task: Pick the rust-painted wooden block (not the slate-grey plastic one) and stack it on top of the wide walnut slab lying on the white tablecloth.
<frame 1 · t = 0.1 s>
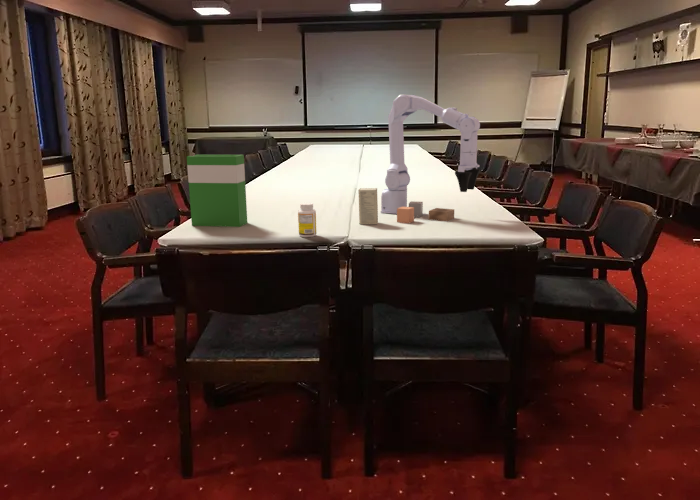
hand: (467, 190, 206), 10 cm above the table, fingers open, 7 cm apart
grey block: (415, 215, 215), on the table
skincare box: (368, 224, 201), on the table
supplement bottle: (307, 236, 181), on the table
cereal box: (219, 224, 203), on the table
walnut slab: (441, 219, 208), on the table
rust block: (405, 221, 203), on the table
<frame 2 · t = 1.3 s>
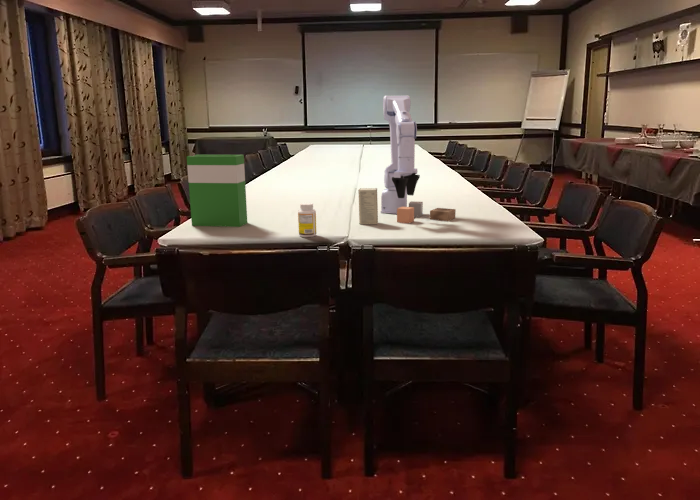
hand: (405, 196, 201), 9 cm above the table, fingers open, 7 cm apart
nothing on the table moved.
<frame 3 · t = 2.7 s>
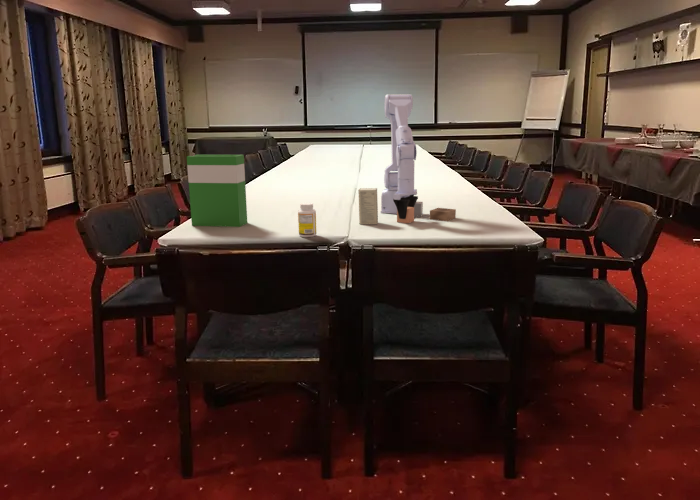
hand: (405, 217, 203), 1 cm above the table, fingers closed on rust block, 4 cm apart
rust block: (405, 221, 203), on the table, touching gripper
everything else where it was.
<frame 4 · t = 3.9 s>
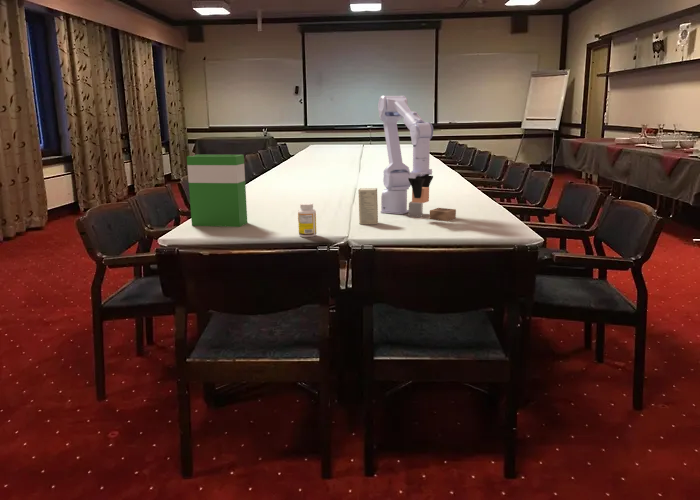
hand: (420, 196, 203), 8 cm above the table, fingers closed on rust block, 4 cm apart
rust block: (420, 201, 203), point 7 cm above the table, touching gripper
everything else where it was.
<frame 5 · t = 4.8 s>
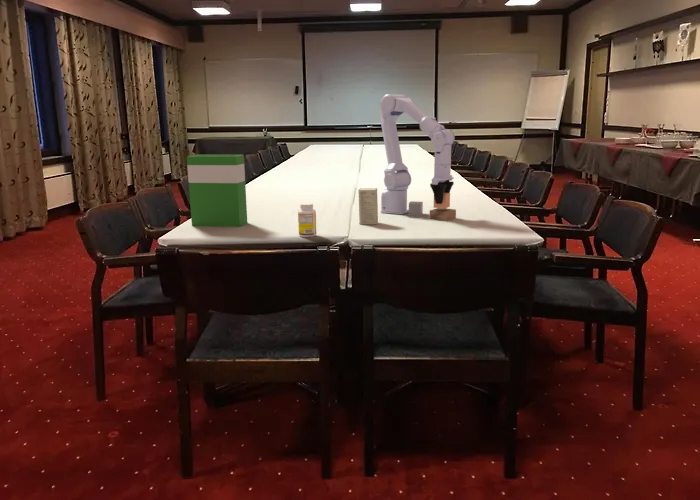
hand: (441, 202, 206), 6 cm above the table, fingers closed on rust block, 5 cm apart
rust block: (441, 207, 207), point 4 cm above the table, touching gripper
everything else where it was.
when the fingers open (6 cm above the table, at t = 5.3 s): rust block stays where it is, point 3 cm above the table.
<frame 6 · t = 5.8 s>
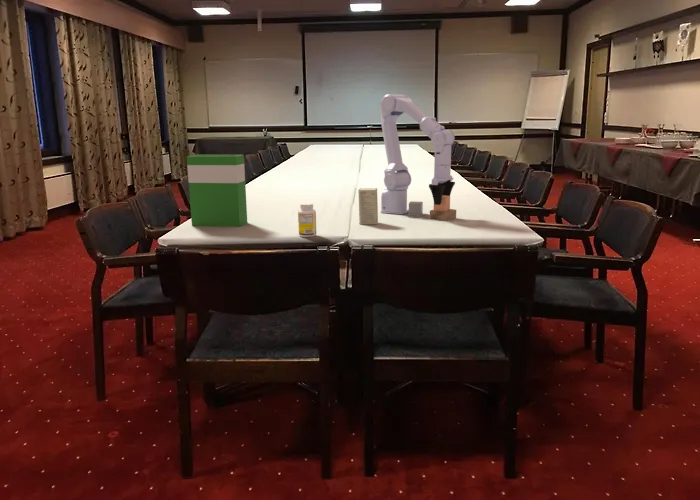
hand: (441, 203, 206), 6 cm above the table, fingers open, 7 cm apart
rust block: (441, 210, 207), point 3 cm above the table
everything else where it was.
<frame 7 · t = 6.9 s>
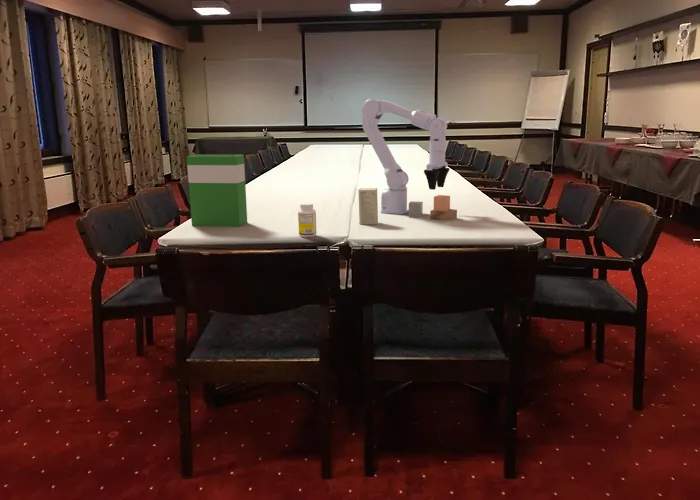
hand: (436, 188, 215), 10 cm above the table, fingers open, 7 cm apart
walnut slab: (443, 219, 208), on the table, touching rust block
rust block: (441, 210, 207), point 3 cm above the table, touching walnut slab
everything else where it was.
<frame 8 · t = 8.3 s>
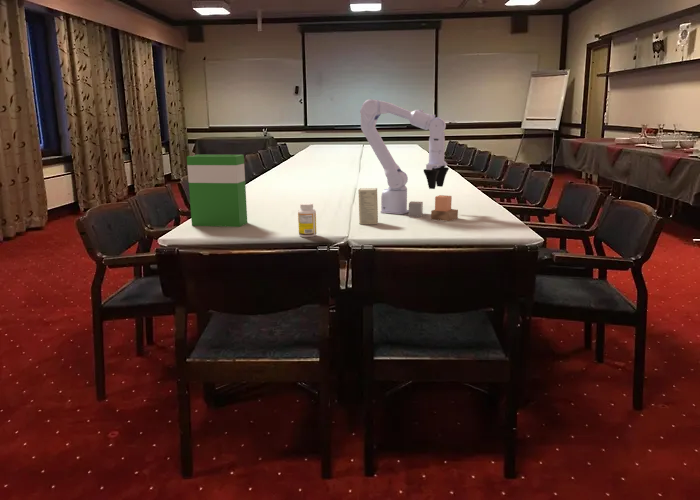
hand: (435, 187, 216), 10 cm above the table, fingers open, 7 cm apart
nothing on the table moved.
at the end: rust block 0.6 cm off-centre on the walnut slab, point 3.5 cm above the walnut slab's base; rust block tilted 1°; the gripper is holding nothing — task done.
